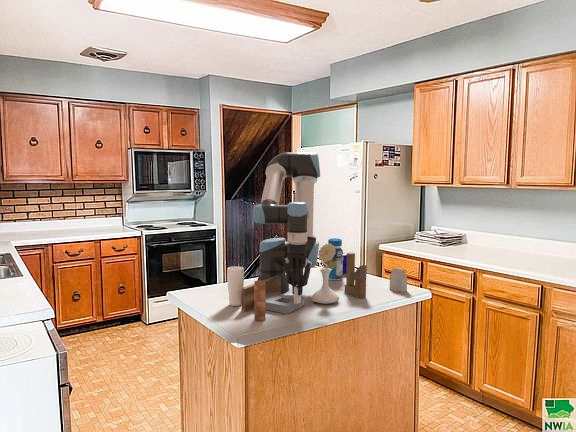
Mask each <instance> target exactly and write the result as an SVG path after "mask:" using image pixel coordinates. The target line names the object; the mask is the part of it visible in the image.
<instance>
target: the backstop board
mask: <svg viewBox="0 0 576 432" xmlns="http://www.w3.org/2000/svg"><path fill="white" fill-rule="evenodd" d="M263 281H265V296H266V295H269V294H271V293H276V294H281V295H282V293H281V276H275V277H272V278H269V279H266V280H263ZM240 306H241V309H240V310H241V312H248V311H250V310H253V309H254V283H251V284H249V285H246V286H243V288H241V305H240Z"/></svg>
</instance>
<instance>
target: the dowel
mask: <svg viewBox="0 0 576 432" xmlns="http://www.w3.org/2000/svg"><path fill="white" fill-rule="evenodd" d="M257 280H258V279H257ZM257 280H255V281H254V282H253V284H254V308H253V309H254V312H253V313H254V315H253V316H254V317H253V318H254V321H255V322H264V321H266V309H265V281H262V280H258V281H257Z"/></svg>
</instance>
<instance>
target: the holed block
mask: <svg viewBox="0 0 576 432" xmlns="http://www.w3.org/2000/svg"><path fill="white" fill-rule="evenodd" d="M302 307H304V298H302V297H301V302H300V303H298V304H294V296H290V295H285V294H282V293H281V294H276V293H271V294H269V295H266V296H265V311H266V310H267V311H270V312H271V311H272V312H275V313H281V314H284V315H287V314H290V313H292V312H294V311H297V310H298V309H300V308H302Z"/></svg>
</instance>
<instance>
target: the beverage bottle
mask: <svg viewBox="0 0 576 432" xmlns="http://www.w3.org/2000/svg"><path fill="white" fill-rule="evenodd" d="M327 241H328V243H327V244H329V243H330V244H332V245H333V246H334V247H335V250H336V251H335V252H336V254H335V255H334V257H332V259H331V263H332V262H334V263H335V265H336V268H330V265H329V263H330V260H329V261H328V260H327V267H328V265H329V267H328V268H330V269H332V270H331V272H330V274H329V278H328V281H341V280H343V277H344V276H343V275H344V274H342V272H343V256H342V255H343V253H344V251H343V249H342V245H343V242H342V241H343V240H342V239H341V238H329V239H328V240H327Z"/></svg>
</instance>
